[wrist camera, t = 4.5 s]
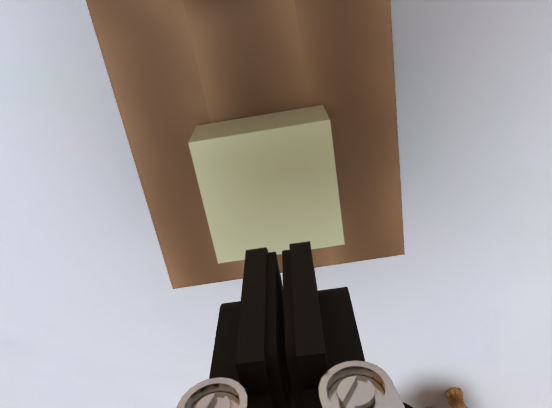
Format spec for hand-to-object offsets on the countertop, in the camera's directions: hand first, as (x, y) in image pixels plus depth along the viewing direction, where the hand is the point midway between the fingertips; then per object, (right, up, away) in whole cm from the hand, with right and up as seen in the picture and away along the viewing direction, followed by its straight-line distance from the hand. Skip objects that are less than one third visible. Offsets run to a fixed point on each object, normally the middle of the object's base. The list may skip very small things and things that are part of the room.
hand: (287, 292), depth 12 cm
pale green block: (-1, +6, +14) cm, 15 cm away
